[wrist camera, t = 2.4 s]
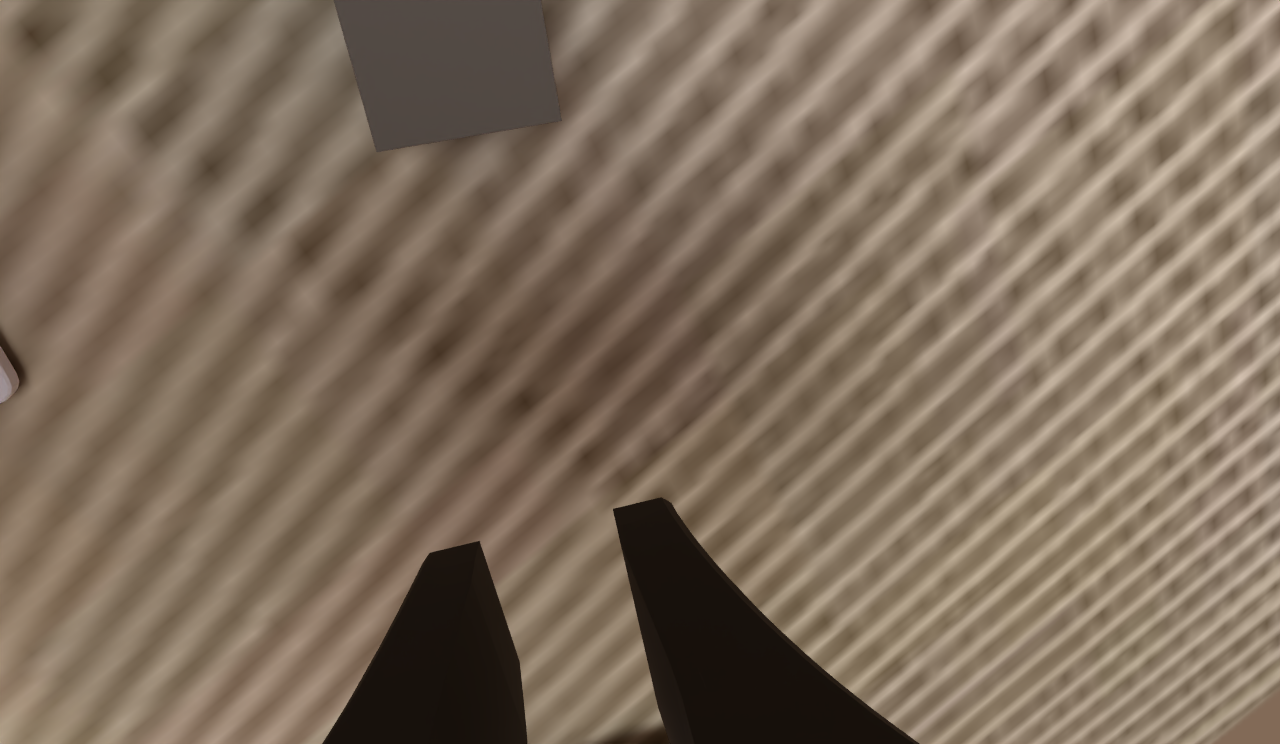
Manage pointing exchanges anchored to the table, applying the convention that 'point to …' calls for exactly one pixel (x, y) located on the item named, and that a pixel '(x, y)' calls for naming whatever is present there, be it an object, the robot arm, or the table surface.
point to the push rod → (449, 67)
